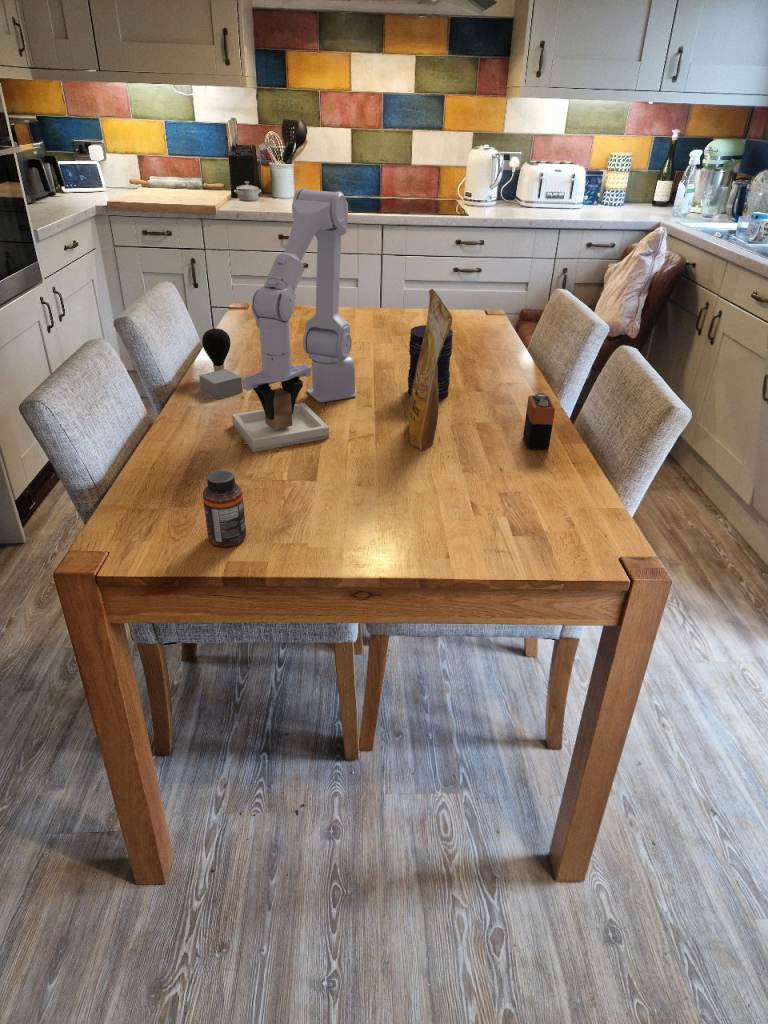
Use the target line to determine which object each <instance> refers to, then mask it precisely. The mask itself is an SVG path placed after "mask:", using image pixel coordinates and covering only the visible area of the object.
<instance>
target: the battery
mask: <svg viewBox="0 0 768 1024" xmlns="http://www.w3.org/2000/svg"><path fill="white" fill-rule="evenodd" d="M555 413H556V408H555V406H554V403H553V402H552V399H551V397H550V396H549V395H547V394H546V393H544V392H536V393H535V395H529V396H528V397H527V405H526V412H525V418H524V425H523V433H522V435H523V438H524V441H525V445H526V447H527V448H528V449H529V450H543V451H544V449H546V451H547V450H549V448H550V443H551V437H552V431H553V424H554V420H555Z"/></svg>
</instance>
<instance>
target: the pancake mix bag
mask: <svg viewBox="0 0 768 1024" xmlns="http://www.w3.org/2000/svg"><path fill="white" fill-rule="evenodd" d="M428 293H429V294H428V295H429V298H428V299H429V300H428V301H429V302H428V311H427V319H426V324H425V325H426V330H425V334H424V338H423V343H422V347H421V351H420V355H419V359H418V363H417V368H416V373H415V378H414V384H413V389H412V394H411V397H410V400H409V406H408V407H409V408H408V413H407V414H408V415H407V417H408V428H409V429H408V430H409V440H410V445H411V447H414V448H418V449H419V451H423V450H427V449H429V448H431V447H432V446H433V444H434V440H435V436H436V431H437V425H438V420H439V401H438V396H439V389H438V367H437V362H438V358H439V355H440V352H441V350H442V347H443V345H444V342H445V339H446V337H447V335H448V333H449V331H450V329H451V328H452V325H453V320H454V319H453V314H452V313H451V311H450V310H449V309H448V307H447V306H446V305H445V304H444V302H443V300H442V299H441V297H440V295H439V294H438V293H437V292H436V291H435V290H434V289H433V288H431V289H429V290H428Z"/></svg>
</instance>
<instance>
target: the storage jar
mask: <svg viewBox="0 0 768 1024" xmlns="http://www.w3.org/2000/svg"><path fill="white" fill-rule="evenodd" d="M425 330H426V324H424V325H423V324H422V325H417V326H414V327H412V328H411V329H410V332H409V333H410V337H409V342H408V343H409V345H408V346H409V347H408V348H409V349H408V352H409V353H408V354H409V356H410V357H409V369H408V373H407V375H408V377H407V387H408V389H407V395H408V396H409V397H410V398H411V394H412V389H413V384H414V378H415V373H416V368H417V363H418V359H419V355H420V351H421V347H422V343H423V338H424V334H425ZM453 335H454V331H453V329H451V328H450V331H449V333H448V335H447V337H446V339H445V342H444V345H443V347H442V350H441V352H440V355H439V358H438V362H437V367H438V389H439V396H438V402H439V401H443V400H445V399H447V398H448V397H449V389H450V382H451V379H450V376H451V372H450V366H451V365H450V361H451V357H452V354H453V353H452V350H453Z"/></svg>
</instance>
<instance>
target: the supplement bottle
mask: <svg viewBox="0 0 768 1024" xmlns="http://www.w3.org/2000/svg"><path fill="white" fill-rule="evenodd" d="M235 479H236V478H235V474H234V472H232V471H230V470H226V469H225V470H224V469H219V470H215V471H212V472H209V474H208V475H207V479H206V480H207V486H205V488H204V489H203V491H202V500H203V509H204V515H205V522H206V532H207V537H208V540H209V543H211V544H212V545H213V546H216V547H220V548H229V547H231V548H232V547H234V546H237V545H240V544H241V543H242V542H244V541H245V539H246V537H247V527H246V526H247V525H246V515H245V505H244V496H243V489H242V487H241V486H240V485H239V484H238V483H237V482H236V480H235Z"/></svg>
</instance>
